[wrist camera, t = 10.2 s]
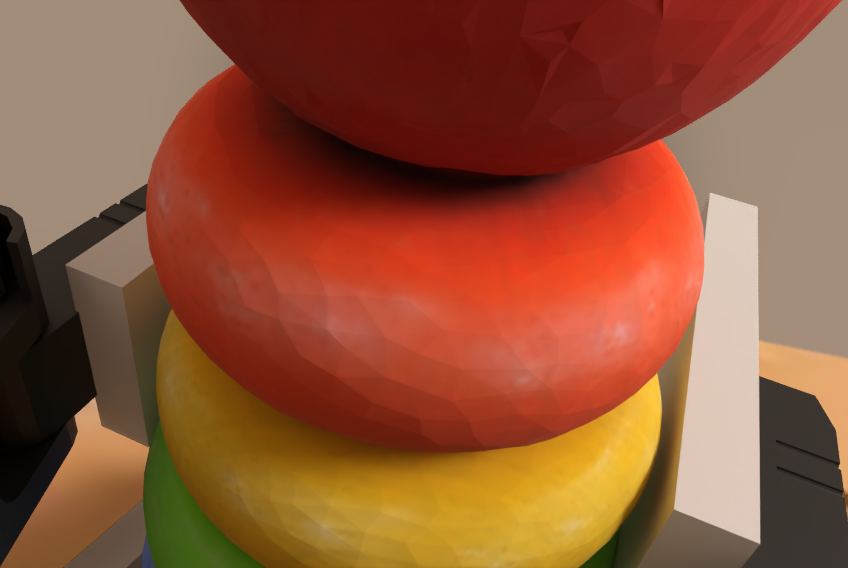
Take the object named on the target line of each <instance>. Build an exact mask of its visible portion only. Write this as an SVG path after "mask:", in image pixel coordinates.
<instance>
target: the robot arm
mask: <svg viewBox="0 0 848 568" xmlns="http://www.w3.org/2000/svg"><path fill="white" fill-rule="evenodd" d="M147 186H148V184H146V185H144V186H142V187H141V188H139V189H138V190H136V191H134V192H133V193H131V194H130V195H128V196H126V197H125V198H123V199H122V200H121V201H120V204H116V203H115V204H114V205H112V206H110V207H109V208H108V209H106V210H104V211H103V212H101V213H100V215H99V217H98V218H96V217H93V218H92V219H90V220H88V221H87V222H85V223H83V224H82V225H80V226H79V227H77V228H76V229H74V230H72V231H71V232H69V233H67V234H66V235H64V236H63V237H61V238H60V239H58V240H56V241H55V242H53V243H52V244H50V245H48V246H47V247H45V248H44V249H42V250H41V251H39V252H37V253H36V254H34V255H32V253H31V248H30V245H29V241H28V237H27V233H26V229H25V225H24V222H23V218H22V217H21V216H20V215H19V214H18V213H16V212H15V211H14V210H13V209H11V208H9V207H6V206H2V205H0V566H1V564H2V563H3V561H4V559H5V558H6V556H7V554H8V553H9V551H10V549H11V548H12V546H13V544H14V543H15V541H16V539H17V538H18V536H19V534H20V533H21V531H22V529H23V528H24V526H25V524H26V523H27V521H28V519H29V518H30V516H31V514H32V513H33V511H34V510H35V508H36V506H37V505H38V503H39V501H40V500H41V498H42V496H43V495H44V493H45V491H46V490H47V488H48V486H49V485H50V483H51V481H52V480H53V478H54V476H55V475H56V473H57V471H58V470H59V468H60V466H61V465H62V463H63V461H64V460H65V458H66V456H67V455H68V453H69V451H70V450H71V448H72V446H73V444H74V441H75V438H76V435H77V432H78V430H77V426H76V421H75V417H74V415H76V414H77V413H78V412H79V411H80V410H81V409H82V408H83V407H84V406H86V405H87V404H88V403H89V402H90V401H91V400H92V399H93V398H94V397H95V398H96V403H97V407H98V411H99V416H100V420H101V425H102V426H103V427H105V428H108V429H110V430H112V431H114V432H116V433H119V434H121V435H123V436H125V437H127V438H130V439H132V440H134V441H136V442H138V443H141V444H143V445H145V446H147V447H149V446H150V445H151V441H152V438H153V435H154V432H155V429H156V427H157V425H158V422H159V420H160V417H159V410H158V404H157V398H156V370H157V357H158V352H159V347H160V341H161V337H162V334H163V331H164V328H165V325H166V322H167V318H168V315H169V313H170V311H171V309H172V307H171V305H170V303H169V301H168V299H167V297H166V295H165V293H164V291H163V289H162V286H161V284H160V281H159V278H158V275H157V271H156V268H155V265H154V262H153V259H152V256H151V253H150V250H149V242H148V233H147V225H146V196H147ZM700 216H701V220H702V224H703V235H704V274H703V283H702V288H701V292H700V297H699V300H698V303H697V305H696V308H695V311H694V313H693V316H692V318H691V321H690V323H689V325H688V327H687V329H686V331H685V333H684V335H683V337H682V339H681V341H680V343H679V345H678V347H677V349H676V351H675V352H674V353H673V354H672V355H671V357H670V358H669V359H668V360H667V362H666V363H665V364H664V365H663V366H662V368H661V369H660V370H659V371H658V372H657V375H658V380H659V386H660V392H661V403H662V423H661V438H660V442H659V447H658V451H657V455H656V459H655V463H654V466H653V469H652V471H651V474H650V477H649V479H648V482H647V484H646V487H645V489H644V491H643V493H642V495H641V496H640V498H639V500H638V501H637V503H636V505H635V507H634V508H633V510H632V512H631V513H630V515H629V516H628V518H627V519H626V520H625V521H624V523H623V524H622V525H621V527H620V531H619V537H618V543H617V548H616V553H615V557H614V561H613V565H612V568H848V521H847V513H846V505H845V498H843V497H842V493H843V491H844V490H843V482H842V474H841V470H840V469H838V467H839V464H840V459H839V451H838V443H837V436H836V430H835V428H834V426H833V425H832V423H831V421H830V420H829V418H828V416H827V415H826V413H825V411H824V410H823V408H822V406H821V405H820V403H819V401H818V400H817V398H816V396H814V395H811V394H808V393H805V392H803V391H800V390H797V389H794V388H791V387H788V386H786V385H783V384H780V383H777V382H774V381H771V380H768V379H766V378H763V377H760V376H759V321H758V318H759V316H758V207H756V206H753V205H749V204H746V203H743V202H739V201H736V200H732V199H729V198H726V197H723V196H719V195H716V194H713V193H710V194H709V196H708V198H707V201H706V202H705V205H704V207H703V209H702V211H701V213H700Z"/></svg>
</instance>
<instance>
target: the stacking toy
mask: <svg viewBox="0 0 848 568" xmlns="http://www.w3.org/2000/svg"><path fill="white" fill-rule="evenodd" d="M180 1H181V3H182V4H183V6H184V7H185V9H186V10H187V11H188V13H189V14H190V15H191V16H192V18H193V19H194V20H195V21H196V22H197V23H198V25H199V26H200V27H201V28H202V29H203V31H204V32H205V33H206V34H207V35H208V36H209V37H210V38H211V39H212V40H213V41H214V42H215V44H216V45H217V46H218V47H219V48H220V49H221V50H222V51H223V52H224V53H225V54H226V55H227V56H228V57H229V58H230V59H231V60H232V61H233V62H234V63H235V65H233V66H231V67H230V68H228V69H227V70H225V71H224V72H222V73H221V74H219V75H217V76H216V77H214V78H213V79H212V80H210V81H209V82H207V83H206V84H205V85H204V86H203V87H201V88H200V89H199V90H198V91H197V92H196V93H195V95H194V96H193V97H192V98H191V99H190V100H189V101H188V103H186V105H185V106H184V107H183V108H182V109H181V110H180V111H179V113H178V115H177V116H176V118H175V120H174V121H173V123H172V124H171V126H170V127H169V129H168V131H167V133H166V135H165V136H164V138H163V140H162V143H161V145H160V147H159V150H158V152H157V154H156V156H155V158H154V161H153V164H152V168H151V172H150V176H149V180H148V186H147V196H146V225H147V233H148V242H149V250H150V253H151V256H152V259H153V262H154V265H155V268H156V271H157V275H158V278H159V281H160V284H161V286H162V289H163V291H164V293H165V295H166V297H167V299H168V301H169V303H170V305H171V307H172V309H171V311H170V313H169V315H168V318H167V322H166V325H165V328H164V331H163V334H162V337H161V341H160V347H159V352H158V357H157V370H156V398H157V404H158V410H159V417H160V420H159V422H158V425H157V427H156V429H155V432H154V435H153V438H152V441H151V445H150V448H149V453H148V458H147V463H146V468H145V473H144V490H143V510H144V518H145V526H146V537H145V542H144V547H143V552H142V564H141V568H612V565H613V561H614V557H615V553H616V548H617V543H618V537H619V531H620V527H621V525H622V524H623V523H624V521H625V520H626V519H627V518H628V516H629V515H630V513H631V512H632V510H633V508H634V507H635V505H636V503H637V501H638V500H639V498H640V496H641V495H642V493H643V491H644V489H645V487H646V484H647V482H648V479H649V477H650V474H651V471H652V469H653V466H654V463H655V459H656V455H657V451H658V447H659V442H660V438H661V423H662V403H661V392H660V386H659V380H658V375H657V372H658V371H659V370H660V369H661V368H662V366H663V365H664V364H665V363H666V362H667V360H668V359H669V358H670V357H671V355H672V354H673V353H674V352H675V351H676V349H677V347H678V345H679V343H680V341H681V339H682V337H683V335H684V333H685V331H686V329H687V327H688V325H689V323H690V321H691V318H692V316H693V313H694V311H695V308H696V305H697V303H698V300H699V297H700V292H701V288H702V283H703V274H704V235H703V224H702V220H701V216H700V212H699V209H698V204H697V200H696V197H695V195H694V192H693V190H692V188H691V186H690V184H689V181H688V179H687V177H686V175H685V174H684V172H683V170H682V168H681V167H680V165H679V163H678V161H677V160H676V158H675V156H674V155H673V154H672V152H671V151H670V150H669V149H668V147H667V146H666V145H665V144H664V143H663V141H662V140H661V139H662V138H664V137H666V136H669V135H671V134H673V133H675V132H677V131H678V130H680V129H682V128H684V127H685V126H687V125H689V124H690V123H692V122H694V121H695V120H697V119H699V118H700V117H702V116H704V115H705V114H707V113H709V112H711V111H712V110H714V109H716V108H717V107H719V106H721V105H722V104H724V103H726V102H727V101H729V100H730V99H732V98H733V97H734V96H736V95H737V94H739V93H740V92H741V91H743V90H744V89H745V88H747V87H748V86H749V85H751V84H752V83H754V82H755V81H756V80H757V79H759V78H760V77H761V76H762V75H764V74H765V73H766V72H767V71H768V70H769V69H770V68H772V67H773V66H774V65H775V64H776V63H777V62H779V60H781V59H782V58H783V57H784V56H785V55H786V54H787V53H789V52H790V51H791V50H792V49H793V48H794V47H795V46H796V45H797V44H799V43H800V42H801V41H802V40H803V39H804V38H805V37H806V36H807V35H808V34H809V33H810V32H811V31H812V30H813V29H814V28H815V27H816V26H817V25H818V24H819V23H820V22H821V21H822V20H823V19H824V18H825V17H826V16H827V15H828V14H829V13H830V12H831V11H832V10H833V9H834V8H835V7H836V6H837V5H838V4H839V3H840V2H841V1H842V0H180Z"/></svg>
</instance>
